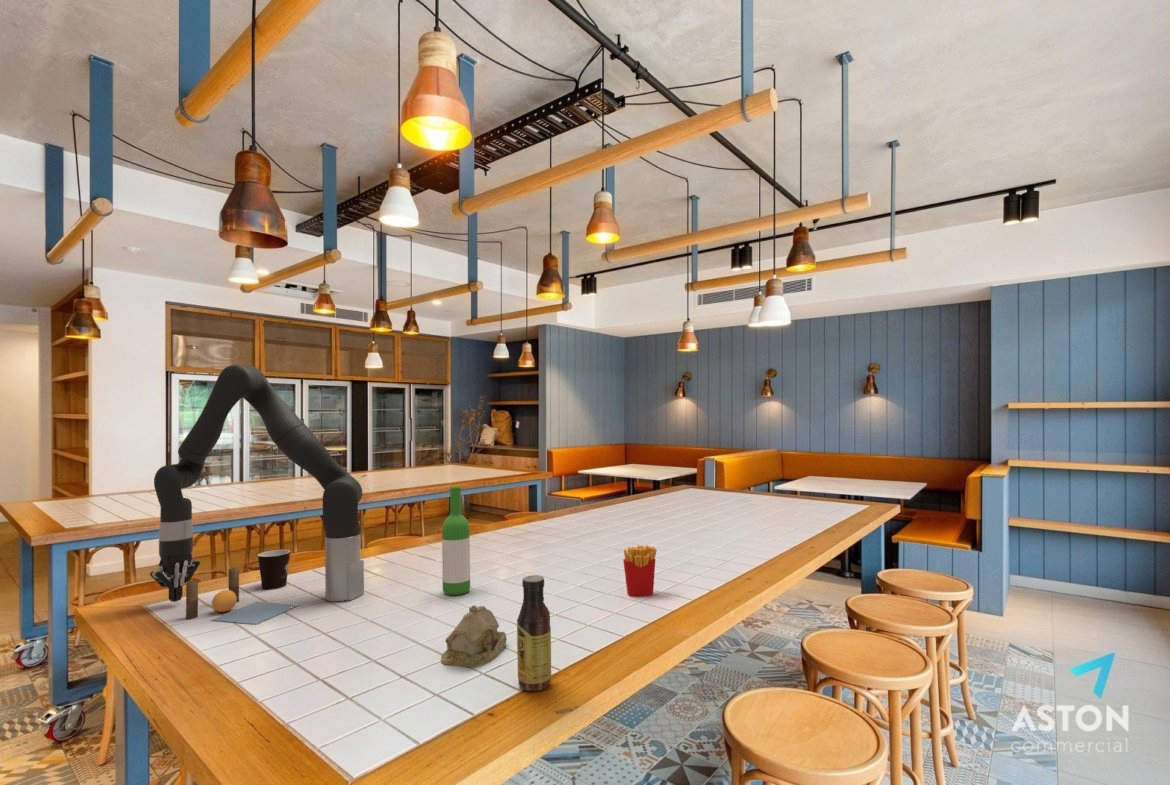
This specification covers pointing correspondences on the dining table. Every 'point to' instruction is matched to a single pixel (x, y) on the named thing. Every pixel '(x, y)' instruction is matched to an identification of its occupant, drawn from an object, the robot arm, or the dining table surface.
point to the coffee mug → (274, 568)
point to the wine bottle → (455, 548)
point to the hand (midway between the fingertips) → (175, 600)
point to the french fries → (639, 570)
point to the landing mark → (255, 613)
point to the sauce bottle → (534, 637)
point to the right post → (234, 581)
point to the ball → (224, 601)
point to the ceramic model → (474, 639)
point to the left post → (191, 599)
